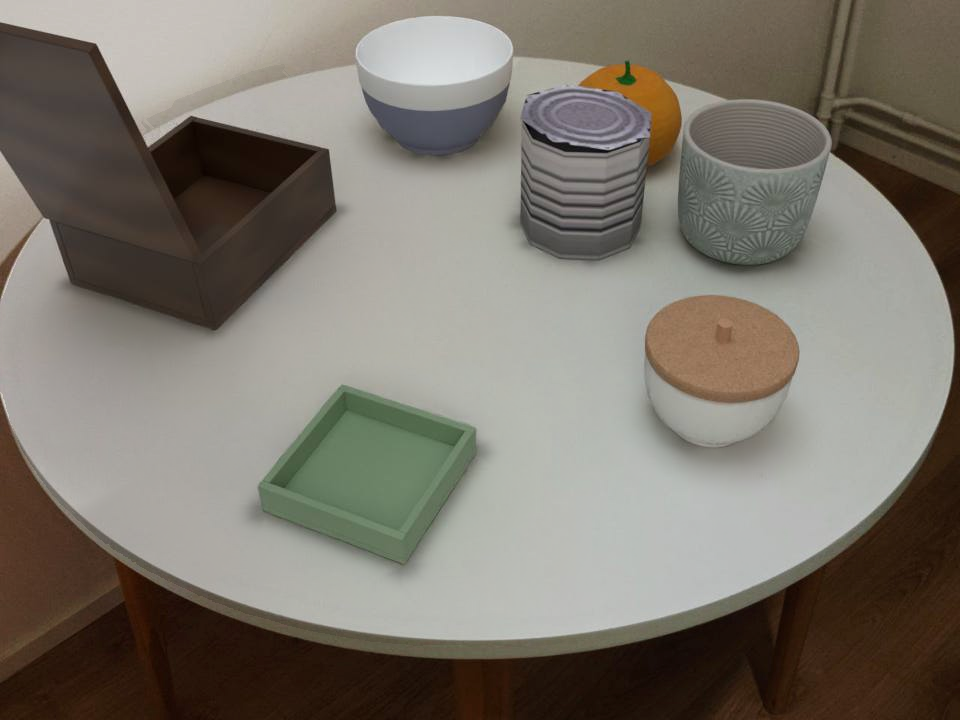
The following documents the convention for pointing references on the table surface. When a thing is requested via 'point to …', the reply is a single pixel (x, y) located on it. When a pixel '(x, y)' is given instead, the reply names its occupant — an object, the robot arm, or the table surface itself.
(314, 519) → the tray
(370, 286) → the table surface
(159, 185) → the lid
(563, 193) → the can
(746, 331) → the trinket box
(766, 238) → the planter
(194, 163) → the chest
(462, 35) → the bowl
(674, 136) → the fruit
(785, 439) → the table surface
